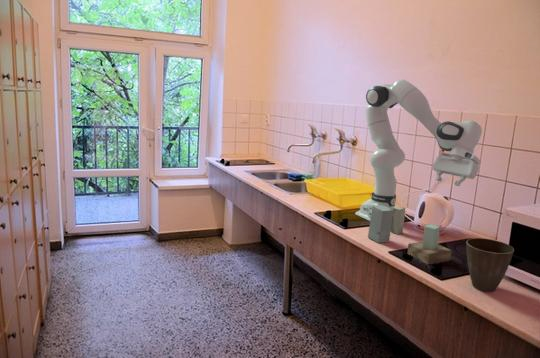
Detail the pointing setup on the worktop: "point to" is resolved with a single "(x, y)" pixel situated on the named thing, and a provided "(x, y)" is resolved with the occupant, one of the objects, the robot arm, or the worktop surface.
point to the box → (398, 220)
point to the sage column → (431, 236)
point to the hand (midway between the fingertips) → (447, 183)
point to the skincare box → (380, 224)
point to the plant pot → (487, 262)
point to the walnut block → (429, 253)
